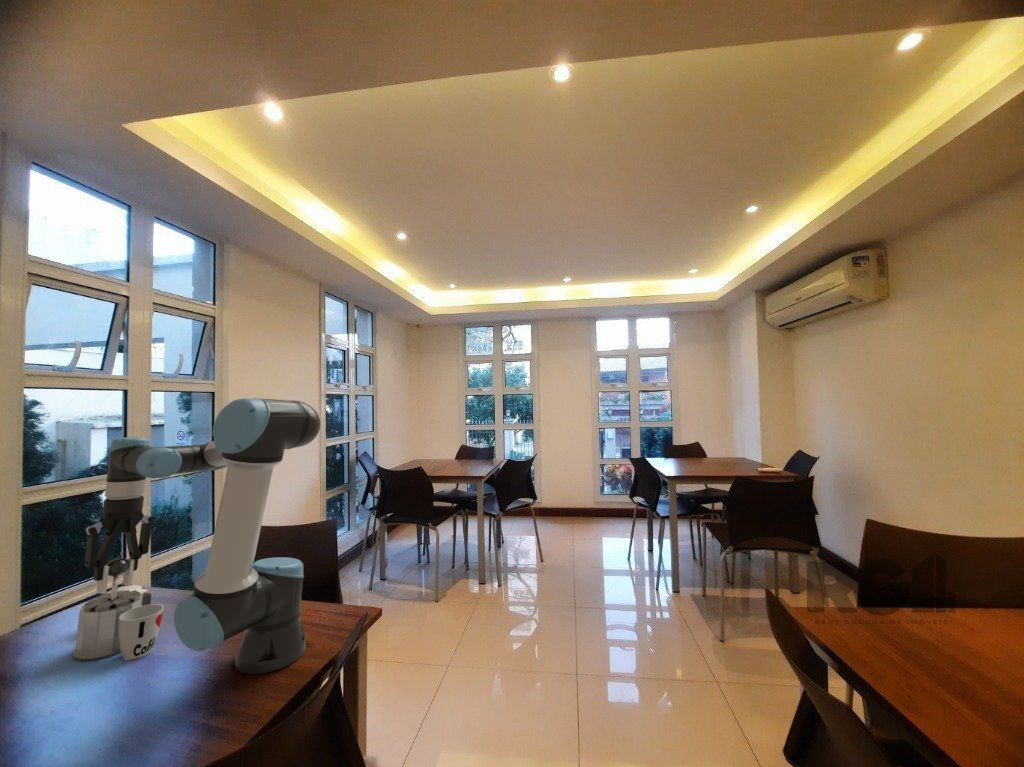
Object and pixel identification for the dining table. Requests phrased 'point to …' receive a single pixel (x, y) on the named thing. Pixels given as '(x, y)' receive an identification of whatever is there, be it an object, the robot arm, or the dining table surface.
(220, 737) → the dining table surface
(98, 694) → the dining table surface
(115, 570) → the plunger
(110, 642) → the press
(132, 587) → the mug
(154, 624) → the cup
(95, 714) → the dining table surface
